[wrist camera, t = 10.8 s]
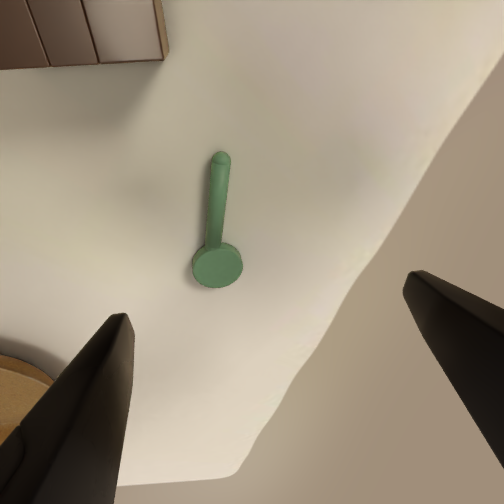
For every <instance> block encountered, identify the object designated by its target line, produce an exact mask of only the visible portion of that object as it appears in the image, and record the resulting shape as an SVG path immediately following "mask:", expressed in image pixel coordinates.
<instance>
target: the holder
mask: <svg viewBox="0 0 504 504" xmlns="http://www.w3.org/2000/svg"><path fill="white" fill-rule="evenodd" d="M168 53H169V45H168V39H167V33H166V27H165V21H164V15H163V9H162V3H161V0H0V70H9V69H26V68H44V67H62V66H80V65H97V64H114V63H132V62H149V61H163V60H164V59H165V58H166V56H167V55H168Z"/></svg>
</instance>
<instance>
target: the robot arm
mask: <svg viewBox="0 0 504 504" xmlns="http://www.w3.org/2000/svg"><path fill="white" fill-rule="evenodd" d="M403 296H404V299H405V301H406V303H407V305H408V307H409V309H410V311H411V313H412V315H413V318H414V320H415V322H416V324H417V326H418V328H419V330H420V332H421V334H422V336H423V338H424V339H425V341H426V343H427V345H428V346H429V348H430V349H431V351H432V353H433V354H434V356H435V357H436V359H437V361H438V362H439V364H440V366H441V367H442V369H443V371H444V372H445V374H446V376H447V377H448V379H449V380H450V382H451V384H452V385H453V387H454V389H455V390H456V392H457V393H458V395H459V397H460V398H461V400H462V401H463V403H464V405H465V406H466V408H467V410H468V411H469V413H470V415H471V416H472V418H473V420H474V421H475V423H476V424H477V426H478V427H479V429H480V431H481V433H482V434H483V436H484V437H485V439H486V441H487V442H488V444H489V446H490V447H491V449H492V450H493V452H494V454H495V455H496V457H497V459H498V460H499V462H500V463H501V465H502V467H503V468H504V309H502V308H500V307H498V306H496V305H494V304H492V303H490V302H488V301H486V300H484V299H482V298H480V297H478V296H476V295H473V294H471V293H469V292H467V291H465V290H463V289H461V288H459V287H457V286H455V285H453V284H450V283H449V282H447V281H445V280H442V279H440V278H438V277H436V276H434V275H432V274H430V273H428V272H426V271H423V270H419V271H411V272H410V273H409V274H408V276H407V279H406V282H405V284H404V287H403ZM134 343H135V334H134V330H133V327H132V325H131V322H130V320H129V317H128V315H127V314H126V313H118V314H112V315H111V316H110V317H109V318H108V319H107V320H106V321H105V322H104V324H103V325H102V326H101V327H100V328H99V329H98V331H97V332H96V333H95V334H94V335H93V337H92V338H91V339H90V340H89V341H88V342H87V344H86V345H85V346H84V347H83V348H82V350H81V351H80V352H79V353H78V354H77V355H76V357H75V358H74V359H73V360H72V361H71V363H70V364H69V365H68V366H67V367H66V368H65V370H64V371H63V372H62V373H61V374H60V375H59V377H58V378H57V379H56V380H55V381H54V383H53V384H52V385H51V386H50V387H49V388H48V390H47V391H46V392H45V393H44V394H43V396H42V397H41V398H40V399H39V400H38V401H37V403H36V404H35V405H34V406H33V407H32V409H31V410H30V411H29V412H28V413H27V414H26V416H25V417H24V418H23V419H22V420H21V422H20V425H18V426H16V427H15V428H14V430H13V431H12V432H11V433H10V434H9V436H8V437H7V438H6V439H5V440H4V441H3V443H2V444H1V445H0V504H114V498H115V491H116V486H117V480H118V473H119V467H120V461H121V455H122V449H123V443H124V437H125V430H126V424H127V418H128V412H129V406H130V400H131V393H132V386H133V366H134Z"/></svg>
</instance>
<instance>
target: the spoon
mask: <svg viewBox="0 0 504 504" xmlns="http://www.w3.org/2000/svg"><path fill="white" fill-rule="evenodd" d="M230 165H231V160H230V157H229V155H228V154H226V153H225V152H217V153H216V154H214V156H213V158H212V164H211V176H210V188H209V200H208V212H207V223H206V235H205V246H204V247H202V248H201V249H200V250H198V251H197V253H196V254H195V256H194V258H193V261H192V269H193V275H194V277H195V279H196V280H197V281H198V282H199V283H200V284H202V285H204V286H206V287H210V288H221V287H225V286H228V285H230V284H232V283H233V282H235V281H236V280H237V279H238V278H239V276H240V275H241V272H242V269H243V264H242V260H241V256H240V254H239V252H238V251H237V250H236V249H235V248H234V247H233V246H231V245H229V244H226V243H221V240H222V231H223V223H224V215H225V206H226V198H227V190H228V181H229V173H230Z"/></svg>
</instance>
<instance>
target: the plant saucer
mask: <svg viewBox="0 0 504 504" xmlns="http://www.w3.org/2000/svg"><path fill="white" fill-rule="evenodd" d="M53 383H54V381H53V380H52V379H51V378H50V377H49V376H48V375H46V374H45V373H44V372H42V371H41V370H39V369H38V368H36V367H34V366H32V365H31V364H28V363H26V362H24V361H21V360H18V359H16V358H12V357H8V356H5V355H0V445H1V444H2V443H3V441H4V440H5V439H6V438H7V437H8V436H9V434H10V433H11V432H12V431H13V430H14V428H15V427H16V426H18V425H20V422H21V420H22V419H23V418H24V417H25V416H26V414H27V413H28V412H29V411H30V410H31V409H32V407H33V406H34V405H35V404H36V403H37V401H38V400H39V399H40V398H41V397H42V396H43V394H44V393H45V392H46V391H47V390H48V388H49V387H50V386H51V385H52V384H53Z"/></svg>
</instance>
